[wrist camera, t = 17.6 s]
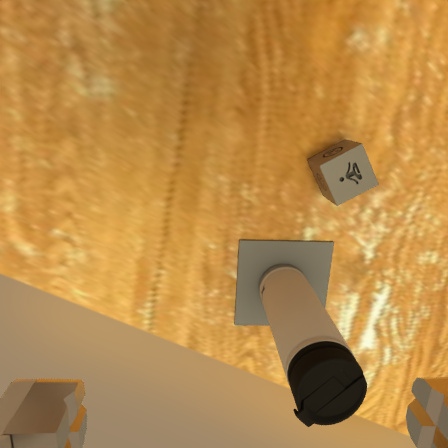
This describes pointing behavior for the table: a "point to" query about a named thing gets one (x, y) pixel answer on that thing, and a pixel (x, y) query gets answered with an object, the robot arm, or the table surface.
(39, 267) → the table surface
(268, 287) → the travel mug
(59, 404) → the robot arm
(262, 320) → the mat
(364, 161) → the dice cube
